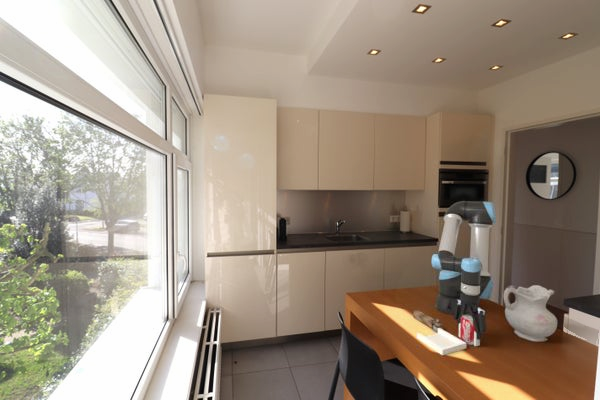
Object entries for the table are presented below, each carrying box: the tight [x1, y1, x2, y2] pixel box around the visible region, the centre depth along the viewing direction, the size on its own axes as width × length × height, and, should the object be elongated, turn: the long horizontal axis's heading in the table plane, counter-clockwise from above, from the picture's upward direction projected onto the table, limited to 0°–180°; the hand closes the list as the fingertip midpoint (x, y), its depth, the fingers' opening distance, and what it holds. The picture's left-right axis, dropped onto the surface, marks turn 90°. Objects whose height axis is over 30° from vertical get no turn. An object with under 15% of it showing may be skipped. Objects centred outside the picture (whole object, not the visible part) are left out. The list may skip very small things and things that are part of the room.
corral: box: [416, 318, 467, 356], centre depth 128 cm, size 17×18×6 cm
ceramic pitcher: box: [502, 284, 558, 342], centre depth 132 cm, size 22×20×25 cm
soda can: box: [459, 313, 476, 346], centre depth 127 cm, size 7×7×12 cm
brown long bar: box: [412, 309, 442, 329], centre depth 143 cm, size 17×3×4 cm, turn 21°
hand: (468, 340), depth 127 cm, fingers closed on soda can, 7 cm apart
